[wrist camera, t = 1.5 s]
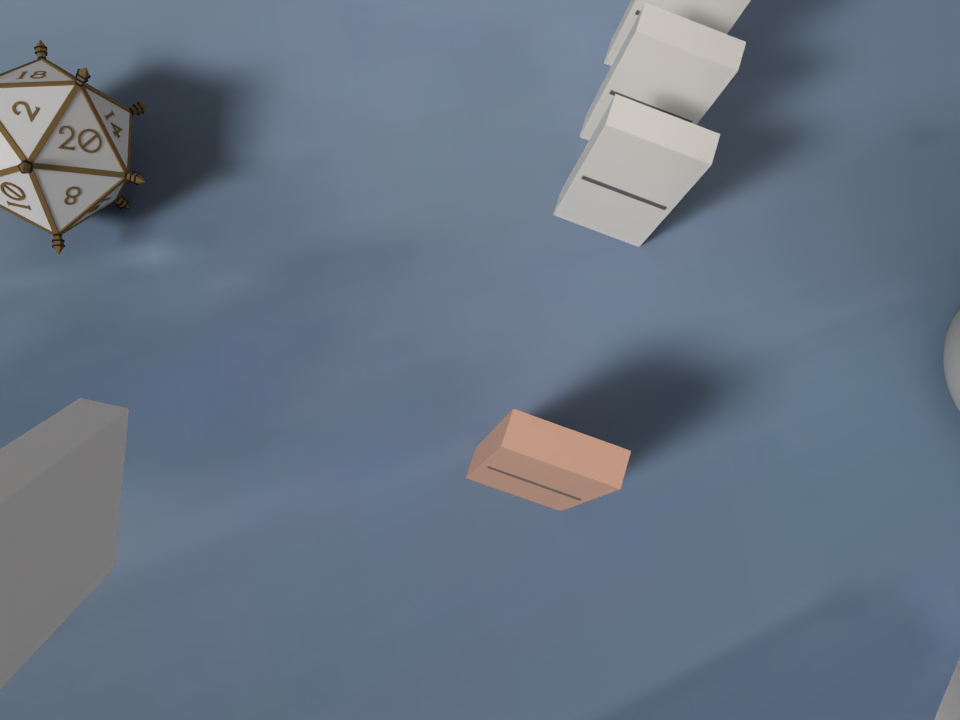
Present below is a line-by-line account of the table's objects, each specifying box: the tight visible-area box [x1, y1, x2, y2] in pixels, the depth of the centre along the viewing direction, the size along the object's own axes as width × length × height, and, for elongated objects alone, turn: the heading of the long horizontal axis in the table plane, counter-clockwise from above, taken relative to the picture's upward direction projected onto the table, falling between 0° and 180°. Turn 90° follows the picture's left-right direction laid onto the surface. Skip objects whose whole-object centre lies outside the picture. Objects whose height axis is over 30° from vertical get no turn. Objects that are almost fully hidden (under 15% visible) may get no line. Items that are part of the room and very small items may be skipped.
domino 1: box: [466, 409, 631, 511], centre depth 41 cm, size 2×5×10 cm, turn 72°
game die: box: [0, 40, 147, 254], centre depth 42 cm, size 9×8×10 cm
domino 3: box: [579, 3, 746, 140], centre depth 47 cm, size 2×5×10 cm, turn 72°
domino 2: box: [604, 0, 751, 66], centre depth 48 cm, size 2×5×10 cm, turn 71°
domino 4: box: [553, 94, 720, 247], centre depth 45 cm, size 2×5×10 cm, turn 72°
